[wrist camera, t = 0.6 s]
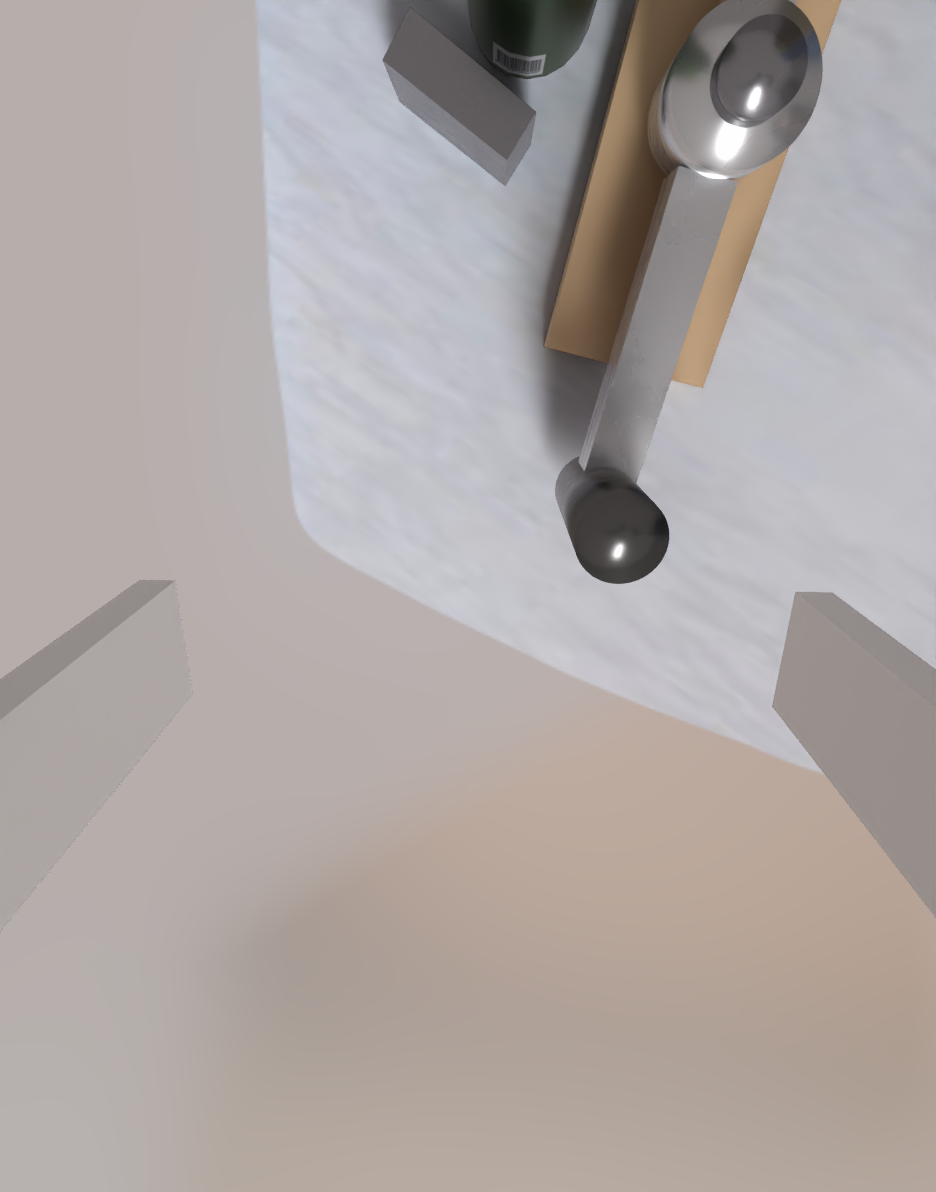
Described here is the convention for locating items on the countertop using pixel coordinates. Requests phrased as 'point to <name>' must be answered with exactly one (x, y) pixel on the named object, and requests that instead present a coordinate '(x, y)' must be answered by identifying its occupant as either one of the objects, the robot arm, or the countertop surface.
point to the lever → (670, 288)
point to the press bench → (653, 201)
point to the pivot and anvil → (505, 123)
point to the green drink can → (530, 33)
